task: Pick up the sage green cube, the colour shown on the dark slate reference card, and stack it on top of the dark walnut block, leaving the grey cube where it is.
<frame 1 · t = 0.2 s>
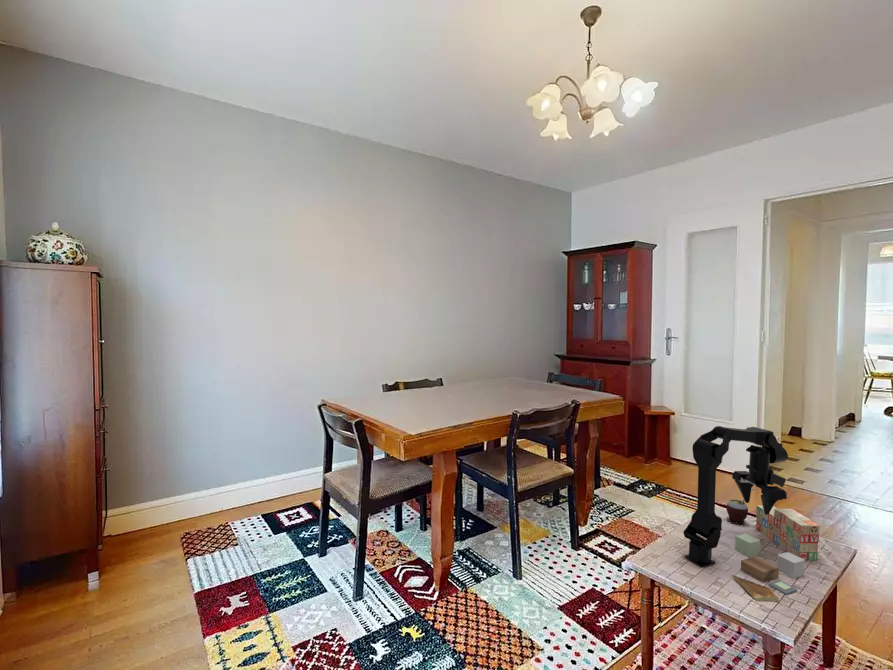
hand: (756, 508, 155), 14 cm above the table, tool pointing down, fingers open, 9 cm apart
sage cube: (747, 552, 152), on the table
reference card: (782, 588, 132), on the table
shard: (752, 594, 130), on the table
grey cube: (790, 572, 140), on the table
stack of blocks: (784, 544, 158), on the table
walnut block: (759, 574, 139), on the table
mate gourd: (738, 522, 173), on the table
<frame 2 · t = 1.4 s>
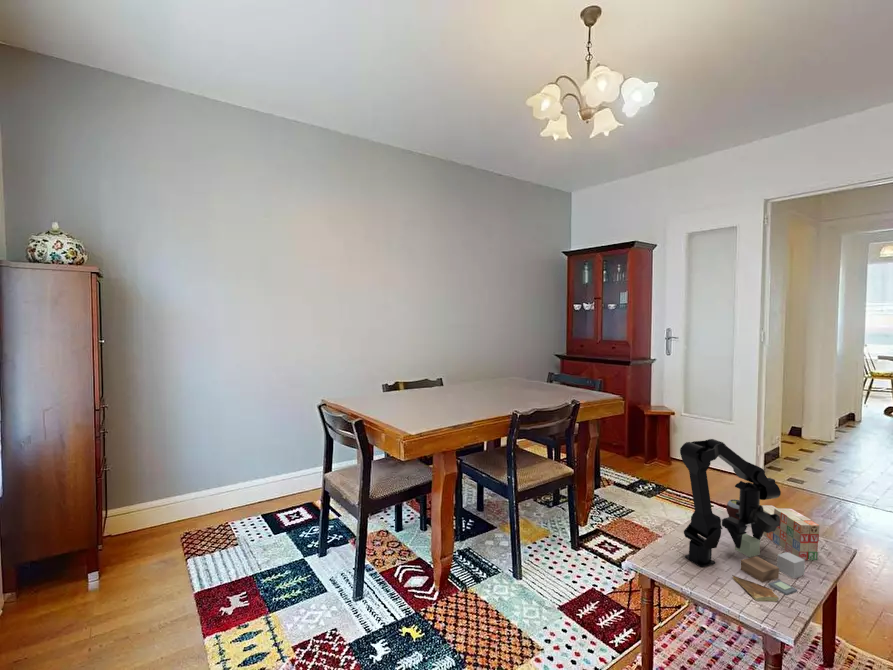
hand: (747, 545, 152), 2 cm above the table, tool pointing down, fingers open, 9 cm apart
nothing on the table moved.
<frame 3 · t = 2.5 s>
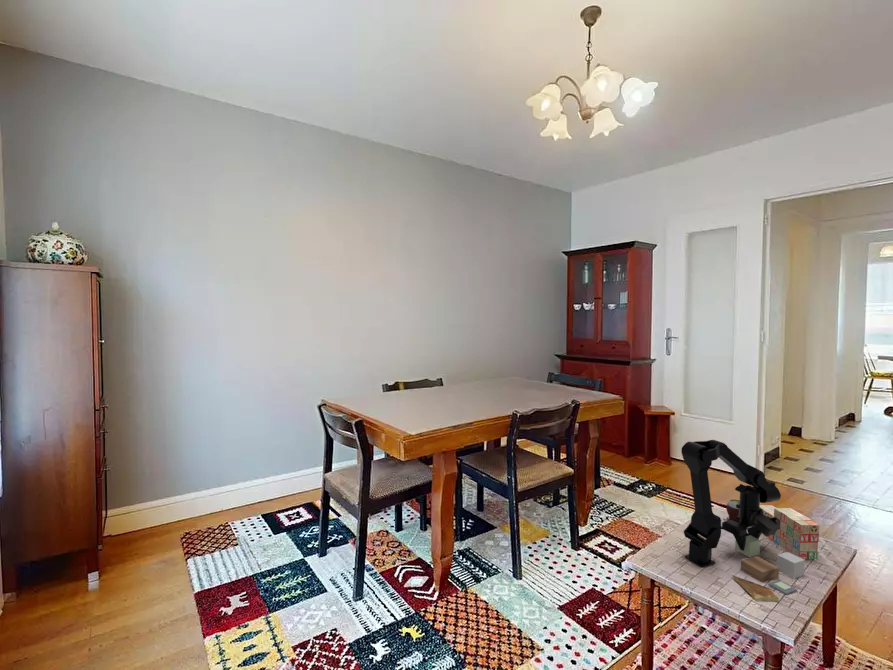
hand: (747, 548, 152), 1 cm above the table, tool pointing down, fingers closed on sage cube, 5 cm apart
sage cube: (747, 552, 152), on the table, touching gripper
everything else where it was.
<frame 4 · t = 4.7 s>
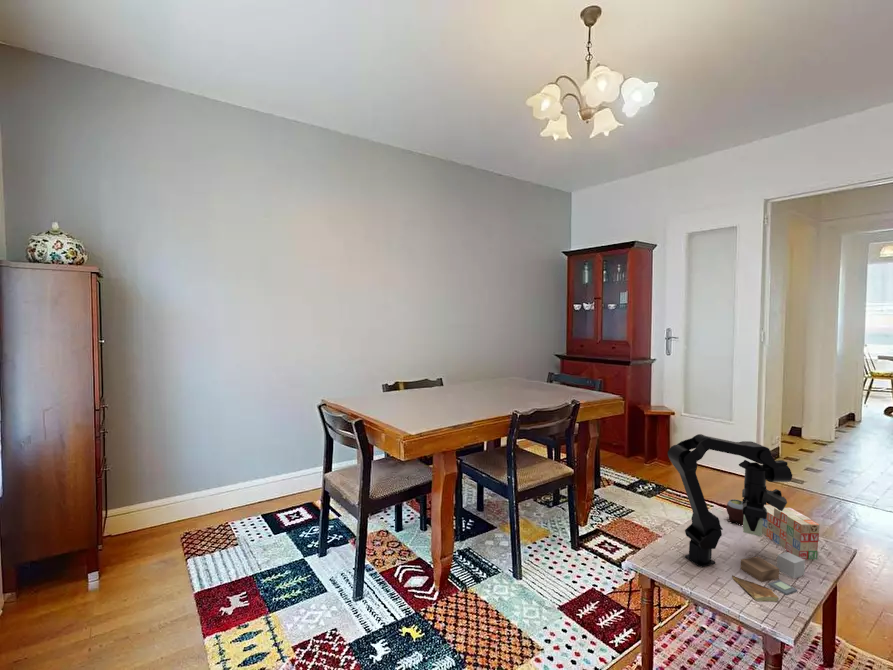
hand: (752, 527, 147), 11 cm above the table, tool pointing down, fingers closed on sage cube, 5 cm apart
sage cube: (752, 531, 147), point 10 cm above the table, touching gripper
everything else where it was.
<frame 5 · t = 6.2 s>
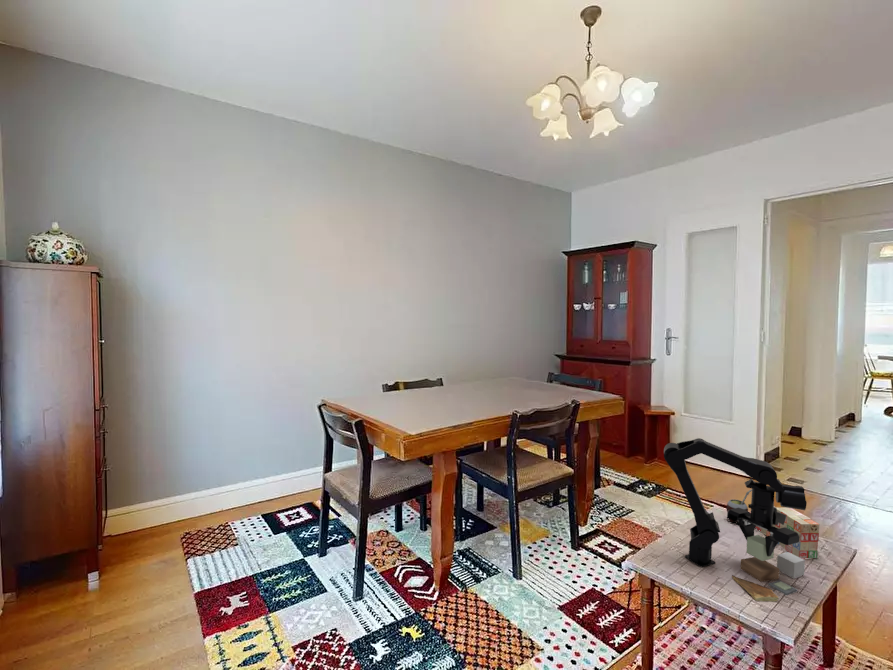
hand: (759, 551, 139), 7 cm above the table, tool pointing down, fingers closed on sage cube, 5 cm apart
sage cube: (759, 555, 139), point 6 cm above the table, touching gripper
when the fingers open (6 cm above the table, at t = 7.2 s): sage cube drops 2 cm, resting on walnut block.
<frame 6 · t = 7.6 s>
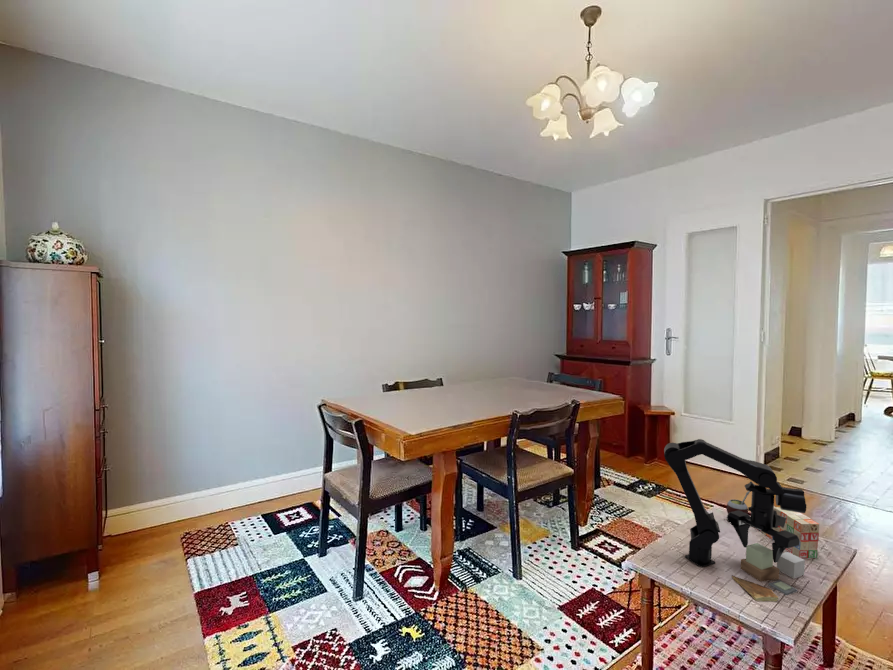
hand: (760, 554, 139), 6 cm above the table, tool pointing down, fingers open, 9 cm apart
sage cube: (759, 563, 139), point 3 cm above the table, touching walnut block
walnut block: (759, 574, 139), on the table, touching sage cube
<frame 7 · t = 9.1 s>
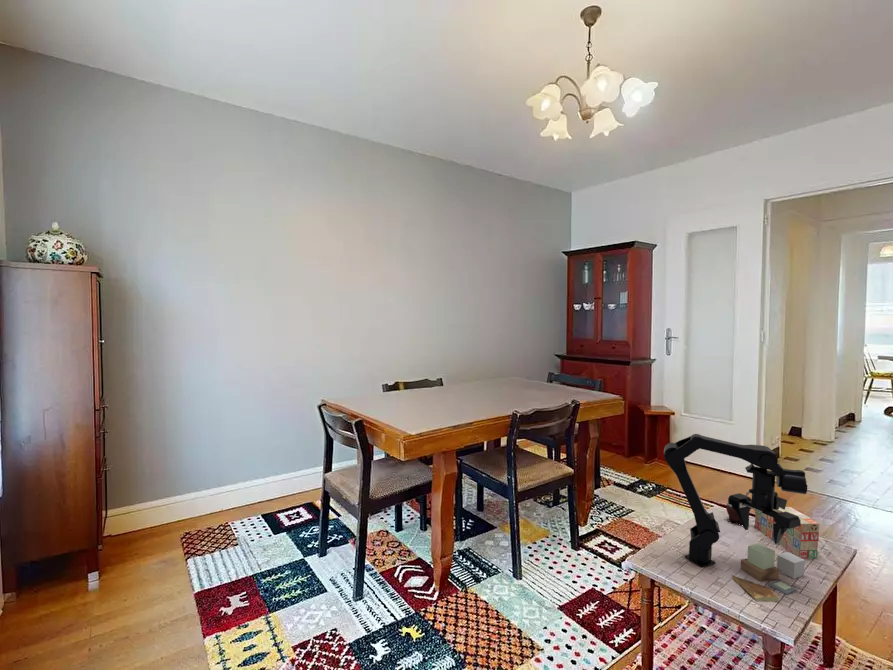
hand: (761, 536, 139), 12 cm above the table, tool pointing down, fingers open, 9 cm apart
sage cube: (760, 564, 139), point 3 cm above the table
walnut block: (759, 574, 139), on the table
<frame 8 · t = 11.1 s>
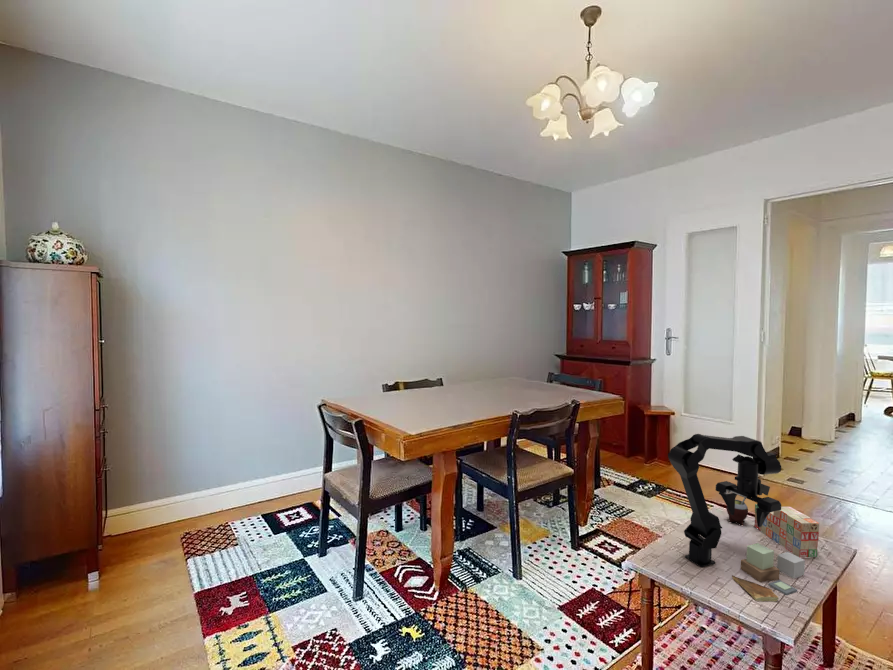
hand: (745, 520, 149), 12 cm above the table, tool pointing down, fingers open, 9 cm apart
at the end: sage cube 0.5 cm off-centre on the walnut block, point 3.5 cm above the walnut block's base; sage cube tilted 0°; the gripper is holding nothing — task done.
